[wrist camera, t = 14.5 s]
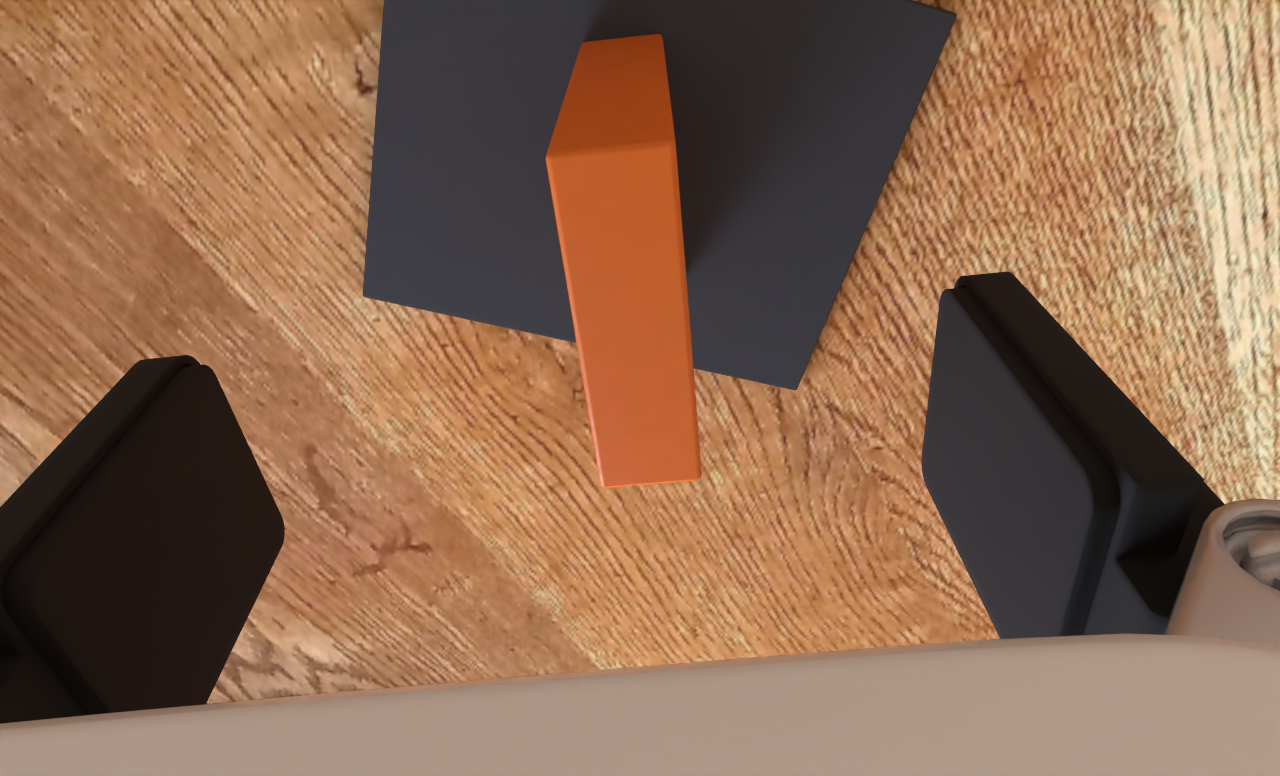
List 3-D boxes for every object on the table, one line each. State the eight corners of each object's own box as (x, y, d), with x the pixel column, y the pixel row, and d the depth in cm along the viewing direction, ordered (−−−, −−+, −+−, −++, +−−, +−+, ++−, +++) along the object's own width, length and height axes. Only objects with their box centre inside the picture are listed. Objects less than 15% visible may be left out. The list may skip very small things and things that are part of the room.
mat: (366, 290, 21) (362, 297, 21) (399, -150, 16) (394, -149, 16) (794, 383, 23) (796, 391, 23) (951, 11, 18) (957, 14, 17)
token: (612, 288, 21) (600, 490, 14) (580, 41, 18) (543, 153, 11) (682, 282, 21) (702, 482, 14) (662, 32, 18) (675, 140, 11)
